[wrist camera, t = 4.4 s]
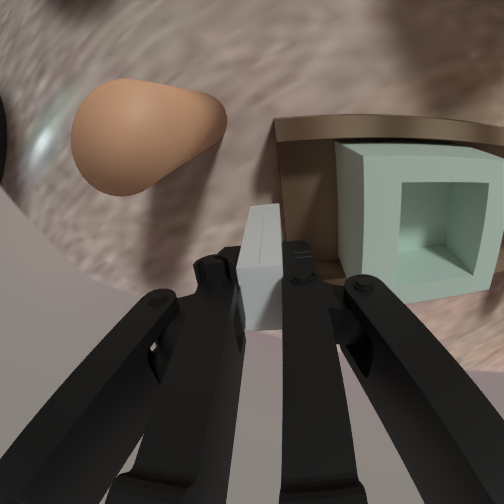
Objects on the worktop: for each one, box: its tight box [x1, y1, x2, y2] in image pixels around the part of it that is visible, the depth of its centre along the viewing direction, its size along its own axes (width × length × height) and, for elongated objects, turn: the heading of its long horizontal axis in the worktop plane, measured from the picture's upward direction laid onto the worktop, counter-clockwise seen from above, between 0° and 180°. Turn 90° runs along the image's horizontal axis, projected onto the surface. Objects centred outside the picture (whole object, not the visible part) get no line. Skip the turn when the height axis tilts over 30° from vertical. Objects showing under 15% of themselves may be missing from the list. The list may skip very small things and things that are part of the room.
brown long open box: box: [274, 114, 504, 286], centre depth 15 cm, size 26×11×8 cm, turn 97°
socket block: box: [335, 140, 504, 304], centre depth 15 cm, size 9×8×6 cm
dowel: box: [71, 79, 227, 196], centre depth 13 cm, size 4×4×11 cm
